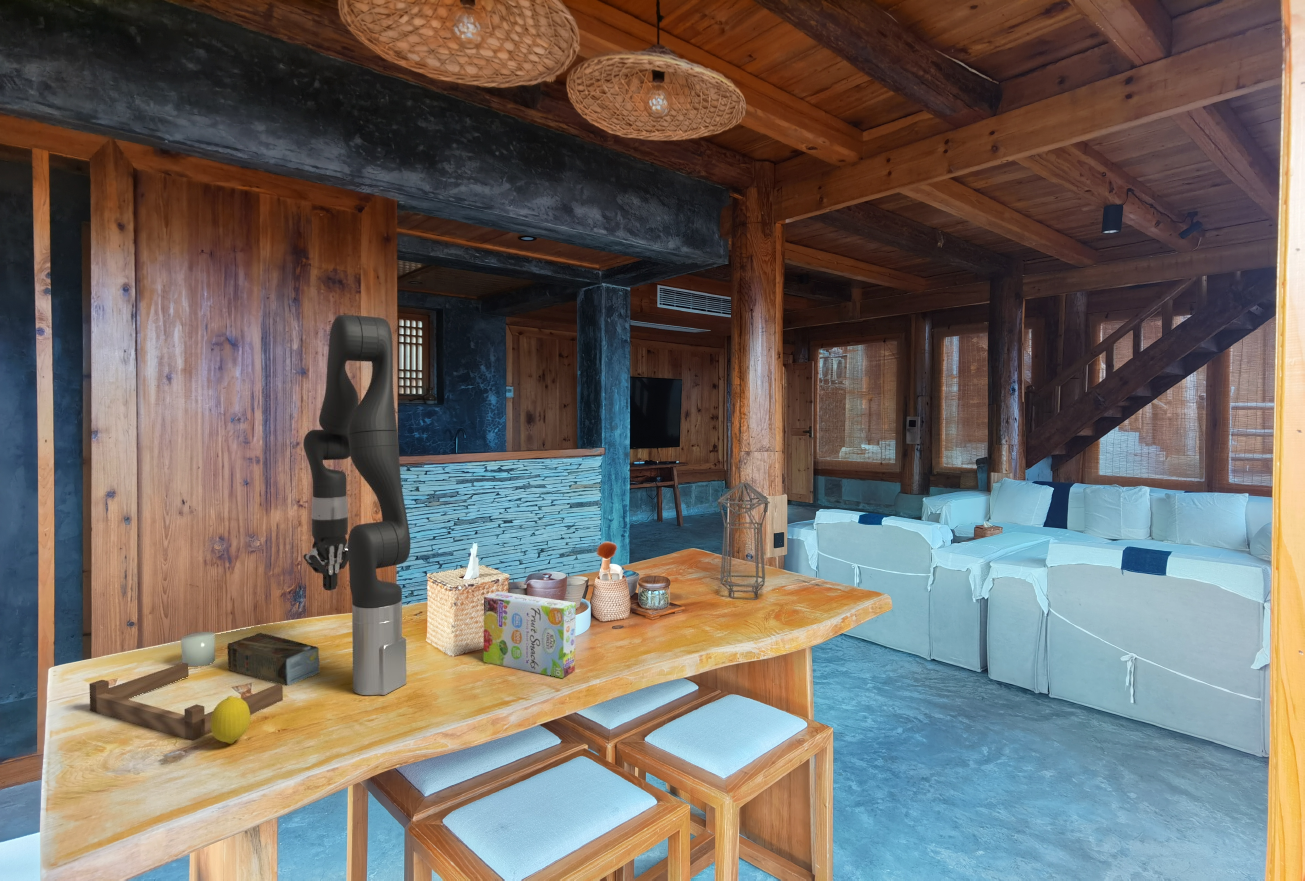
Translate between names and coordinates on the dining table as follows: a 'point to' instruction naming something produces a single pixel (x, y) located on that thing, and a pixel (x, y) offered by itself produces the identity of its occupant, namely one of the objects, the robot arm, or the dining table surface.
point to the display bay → (160, 719)
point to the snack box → (530, 633)
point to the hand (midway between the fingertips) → (330, 589)
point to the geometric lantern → (763, 501)
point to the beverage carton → (273, 658)
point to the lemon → (230, 719)
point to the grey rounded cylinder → (198, 649)
